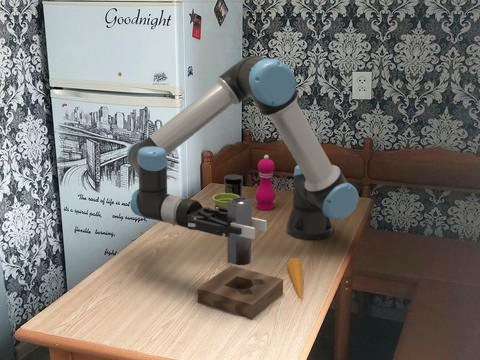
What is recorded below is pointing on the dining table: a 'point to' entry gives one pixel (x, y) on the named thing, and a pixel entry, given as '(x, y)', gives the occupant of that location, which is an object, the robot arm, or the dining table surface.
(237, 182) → the supplement container
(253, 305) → the socket block
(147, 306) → the dining table surface
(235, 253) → the d peg
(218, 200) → the plant pot
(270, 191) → the pepper mill
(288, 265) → the carrot
